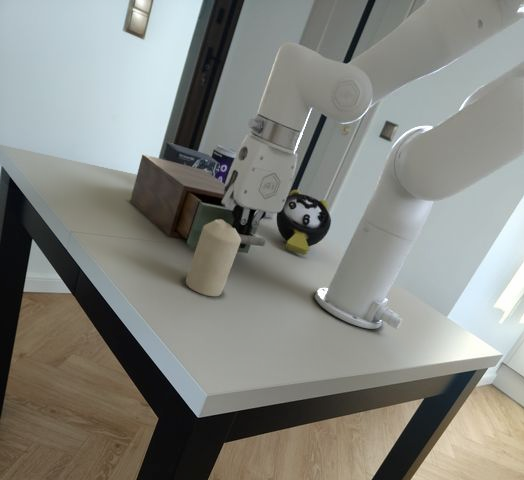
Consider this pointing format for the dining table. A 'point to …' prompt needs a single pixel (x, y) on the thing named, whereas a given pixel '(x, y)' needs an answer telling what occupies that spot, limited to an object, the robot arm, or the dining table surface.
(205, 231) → the candle
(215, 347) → the dining table surface
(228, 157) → the beverage can
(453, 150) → the robot arm
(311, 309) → the dining table surface
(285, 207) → the alarm clock
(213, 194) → the cabinet
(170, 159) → the box
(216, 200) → the drawer
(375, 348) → the dining table surface
